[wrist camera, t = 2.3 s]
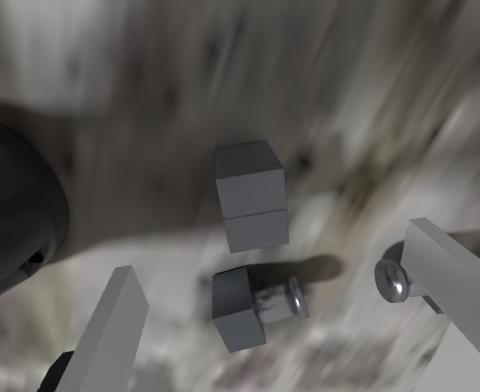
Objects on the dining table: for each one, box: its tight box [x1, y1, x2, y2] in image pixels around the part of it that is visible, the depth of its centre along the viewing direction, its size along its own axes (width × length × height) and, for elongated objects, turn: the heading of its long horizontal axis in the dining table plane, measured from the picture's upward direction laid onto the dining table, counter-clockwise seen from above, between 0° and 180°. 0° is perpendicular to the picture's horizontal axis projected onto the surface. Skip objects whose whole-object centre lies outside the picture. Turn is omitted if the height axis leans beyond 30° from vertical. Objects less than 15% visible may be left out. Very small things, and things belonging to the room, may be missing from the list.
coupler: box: [215, 140, 289, 253], centre depth 19 cm, size 6×4×6 cm
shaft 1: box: [212, 267, 309, 353], centre depth 25 cm, size 8×5×5 cm, turn 106°
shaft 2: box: [375, 236, 479, 314], centre depth 25 cm, size 8×5×5 cm, turn 90°
